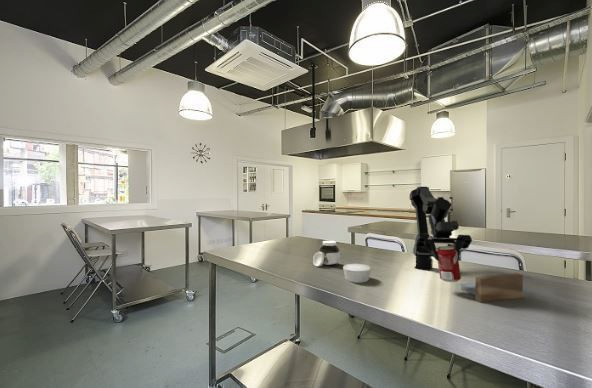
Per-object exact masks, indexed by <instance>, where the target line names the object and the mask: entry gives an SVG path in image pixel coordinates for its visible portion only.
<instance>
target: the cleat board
mask: <svg viewBox="0 0 592 388" xmlns="http://www.w3.org/2000/svg"><path fill="white" fill-rule="evenodd" d="M523 276H524V274H522V273H518V272H516V273H515V272H514V273H505V274H503V273H502V274H494V275H491V274H490V275H483V276H481V275H480V276H475V282H469V283H461V284H460V290H461V291H464V292H466V293H469V294H471V295H473V296H475V299H474V300H475V302H479V303H488V302H498V301H505V300H513V299H522V298H524V297H523V295H524V294H523V290H524V289H523V288H524V286H523V285H524V283H523V281H524V277H523Z"/></svg>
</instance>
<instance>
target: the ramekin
mask: <svg viewBox="0 0 592 388" xmlns="http://www.w3.org/2000/svg"><path fill="white" fill-rule="evenodd" d="M342 269H343V273H344V278H345V280H346V281H348V282H349V283H355V284H360V283H366V282H368V281H369V280H370V273H371V267H370V266H369V265H366V264H364V263H348V264H344V265H343V267H342Z"/></svg>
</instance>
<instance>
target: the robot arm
mask: <svg viewBox="0 0 592 388" xmlns="http://www.w3.org/2000/svg"><path fill="white" fill-rule="evenodd" d="M409 201H410V203H411V206H412V207H413V208H414V209H415V218H416V227H417V234H416V236H415V240H414V246H413V247H412V248H413V249H412V254H413V255H414V256H415V266H414V269H419V270H424V271H430V270H431V269H433V267H434V266H433V262H434V260H433V258H434V259H435V260H436V261H437V262H438V260H439V258H438V254H437V246H436V244H447V245H448V244H452V246H453V247H455V248H454V249H455V250H456V251H457V254H458V261H459V260H460V254H461V253H460V252H461V250H462V249H463V250H464V249H468V248H469V246H470V245H471V243H472V242H473V239H472V236H471V235H470V234H458V235H457V236H456V237H455V238H454V237H452V236H453V232H454V231H457V230H458V229H460V225H459V222H458V221H457V220H452V221H446V218H447V217H448V215H449V212H450V210H451V208H452V202H450V201H449V200H447V199H445V198H444V196H438V197H437V198H435V196H434V195H433V194H432V192H431V191H430V187H429V186H417V187H416V188H414V189H413V190H411V191H410V193H409ZM427 215H428V221H427ZM428 224H429V225H430V234H431V235H430V234H429V227H428ZM432 257H433V258H432Z"/></svg>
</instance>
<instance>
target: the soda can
mask: <svg viewBox="0 0 592 388" xmlns="http://www.w3.org/2000/svg"><path fill="white" fill-rule="evenodd" d="M454 248H455V247H454V246H453V245H452V246H451V245H443V246H437V249H436V251H437V254H438V258H439V260H438V261H437V265H438V273H439V279H440V280H442V281H444V282H446V283H456V282H458V281H460V280H461V279H462V277H461V276H462V275H461V269H460V263H459V261H458V254H457V251H456V250H455V249H454Z"/></svg>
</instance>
